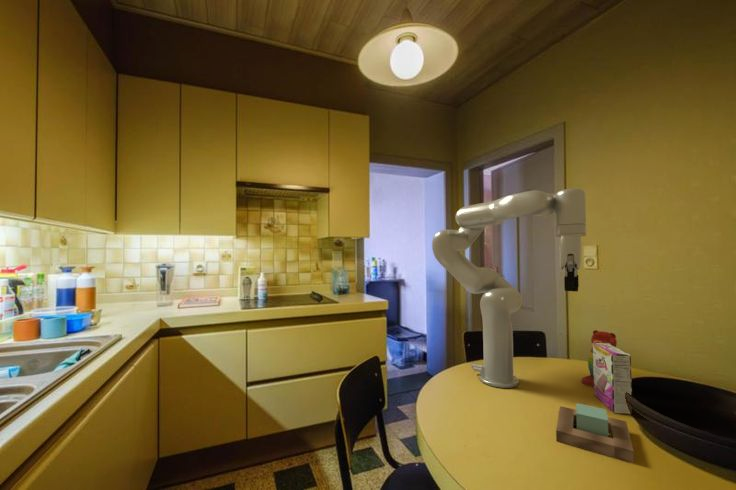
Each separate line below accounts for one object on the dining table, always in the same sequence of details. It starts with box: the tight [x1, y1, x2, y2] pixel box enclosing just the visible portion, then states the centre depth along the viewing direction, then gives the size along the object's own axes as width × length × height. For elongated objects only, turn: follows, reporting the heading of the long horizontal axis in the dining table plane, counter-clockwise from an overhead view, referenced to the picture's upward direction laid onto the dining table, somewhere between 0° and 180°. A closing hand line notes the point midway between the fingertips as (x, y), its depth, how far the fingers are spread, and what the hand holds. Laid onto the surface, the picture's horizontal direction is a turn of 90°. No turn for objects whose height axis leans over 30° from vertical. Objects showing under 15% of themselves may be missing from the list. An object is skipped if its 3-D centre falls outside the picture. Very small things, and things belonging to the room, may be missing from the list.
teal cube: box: [576, 402, 609, 437], centre depth 76 cm, size 6×6×6 cm
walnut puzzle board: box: [555, 405, 635, 464], centre depth 76 cm, size 14×14×2 cm
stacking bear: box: [580, 329, 618, 387], centre depth 104 cm, size 11×10×18 cm
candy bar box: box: [591, 342, 633, 416], centre depth 91 cm, size 11×5×16 cm, turn 168°
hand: (571, 289), depth 93 cm, fingers open, 9 cm apart
